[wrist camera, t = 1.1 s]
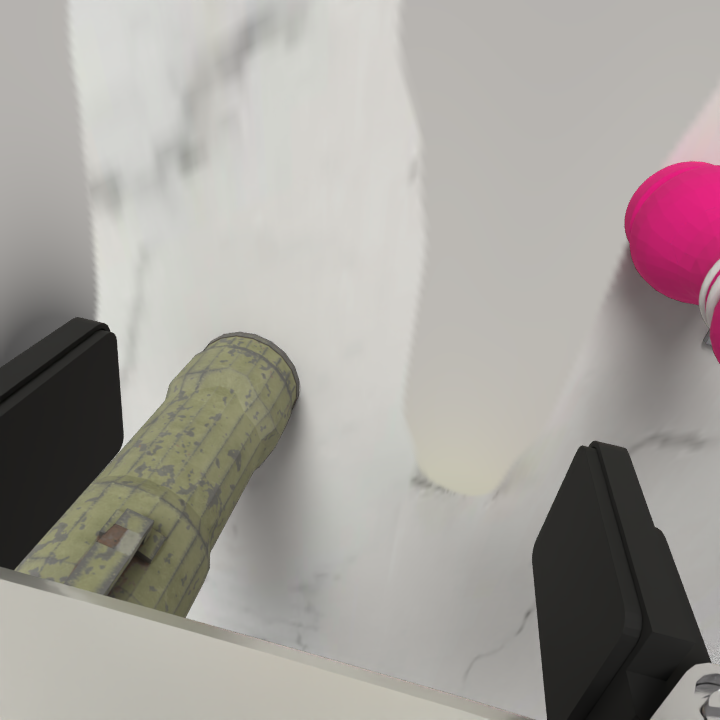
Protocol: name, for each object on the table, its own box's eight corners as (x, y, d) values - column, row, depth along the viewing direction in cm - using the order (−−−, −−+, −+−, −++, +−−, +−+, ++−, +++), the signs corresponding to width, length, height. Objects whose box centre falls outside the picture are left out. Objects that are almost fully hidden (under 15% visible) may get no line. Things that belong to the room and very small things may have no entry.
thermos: (183, 409, 50) (-275, 973, 20) (216, 297, 43) (-378, 870, 14) (276, 451, 50) (-37, 1069, 20) (321, 346, 44) (-32, 1009, 14)
